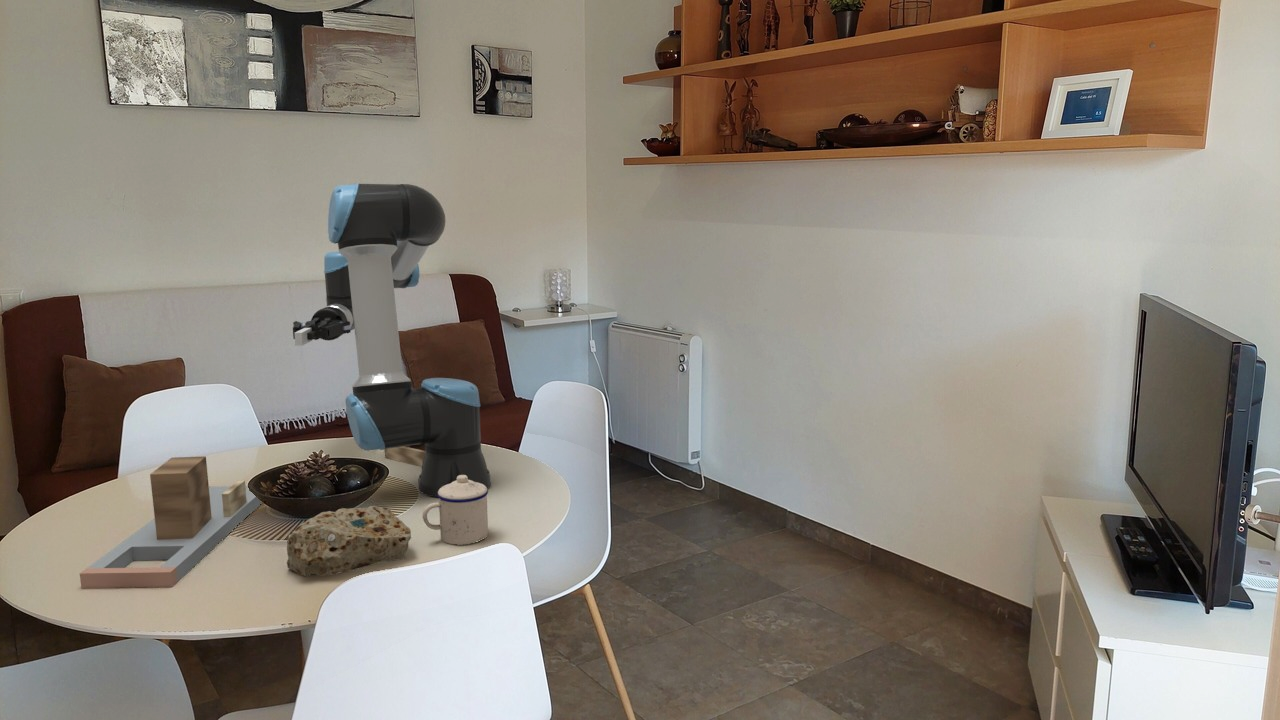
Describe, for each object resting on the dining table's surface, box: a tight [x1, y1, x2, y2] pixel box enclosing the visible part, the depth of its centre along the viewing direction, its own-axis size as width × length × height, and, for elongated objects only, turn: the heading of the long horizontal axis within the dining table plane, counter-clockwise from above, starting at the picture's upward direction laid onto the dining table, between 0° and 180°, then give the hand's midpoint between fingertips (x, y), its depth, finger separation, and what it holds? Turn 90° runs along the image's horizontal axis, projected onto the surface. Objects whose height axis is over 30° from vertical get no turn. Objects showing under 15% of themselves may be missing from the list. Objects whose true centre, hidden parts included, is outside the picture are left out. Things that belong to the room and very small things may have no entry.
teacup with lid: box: [422, 475, 489, 546], centre depth 168 cm, size 12×9×12 cm
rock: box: [286, 505, 412, 577], centre depth 159 cm, size 21×14×10 cm
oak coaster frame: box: [384, 446, 425, 467], centre depth 221 cm, size 14×16×4 cm
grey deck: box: [79, 485, 263, 589], centre depth 170 cm, size 43×14×2 cm, turn 2°
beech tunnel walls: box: [222, 480, 247, 517], centre depth 176 cm, size 8×13×4 cm, turn 92°
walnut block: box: [149, 456, 212, 540], centre depth 166 cm, size 10×6×12 cm, turn 7°
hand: (298, 339), depth 192 cm, fingers closed
